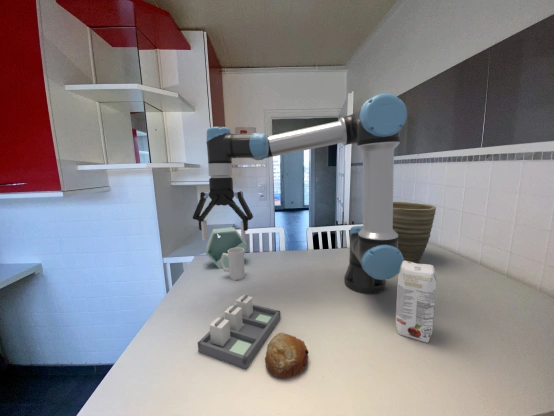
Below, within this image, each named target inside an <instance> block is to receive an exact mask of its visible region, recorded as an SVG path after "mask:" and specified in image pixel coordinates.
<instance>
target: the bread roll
mask: <svg viewBox="0 0 554 416" xmlns="http://www.w3.org/2000/svg"><path fill="white" fill-rule="evenodd" d="M266 346H267V347H266V351H265V352H266V353H265V357H264V361H265V367H266V369H267V370H268V373H270V374H271V375H272V376H274V377H276V378H278V379H284V380H285V379H290V378H293V377H295V376H298V375H300V374H301V373H302V372H303V371H304V370H305V369H306V367H307V365H308V360H309V359H308V358H309V356H308V354H309V349H308V348H307V345H306V343H305V342H304V340H302V339H300V338H297V337H296V336H293V335H291V334H289V333H285V332H279V333H277V334H275V335H274V336H273V337H272V339H270V341H269V342H268V344H267V345H266Z"/></svg>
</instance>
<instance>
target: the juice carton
mask: <svg viewBox="0 0 554 416" xmlns="http://www.w3.org/2000/svg"><path fill="white" fill-rule="evenodd" d="M397 275H398V277H397V289H396V290H397V291H396V293H397V294H396V306H395V307H396V308H395V309H396V310H395V327H396V331H397V334H398V335H400V336H402V337H407V338H410V339H414V340H416V341H420V342H423V343H427V344H428V343H429V341H430V338H431V337H432V335H433V330H434V329H433V327H434V316H435V315H434V314H435V304H436V294H437V293H436V292H437V291H436V290H437V276H436V275H437V274H436V269H435V266H434V265H433V264H427V263H420V264H417V263H413V262H409V261H405V260H404V261H403V262H402V264H401V267H400V270H399V273H398V274H397Z"/></svg>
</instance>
